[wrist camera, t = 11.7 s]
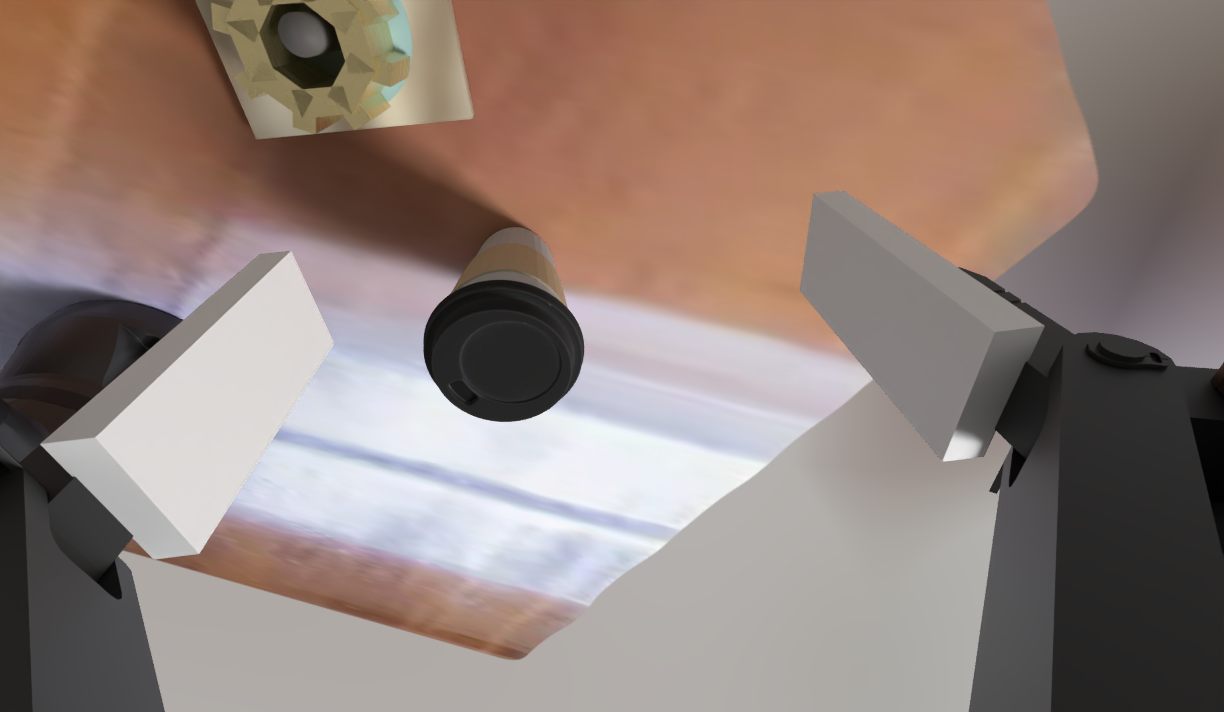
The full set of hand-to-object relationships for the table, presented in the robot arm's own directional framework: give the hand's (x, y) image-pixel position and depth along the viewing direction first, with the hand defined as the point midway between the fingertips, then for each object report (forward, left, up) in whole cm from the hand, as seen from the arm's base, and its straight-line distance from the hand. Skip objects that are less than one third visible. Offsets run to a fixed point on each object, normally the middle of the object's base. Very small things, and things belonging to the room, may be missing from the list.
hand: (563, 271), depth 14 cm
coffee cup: (-5, -11, -27) cm, 30 cm away
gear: (-13, +5, -25) cm, 29 cm away
